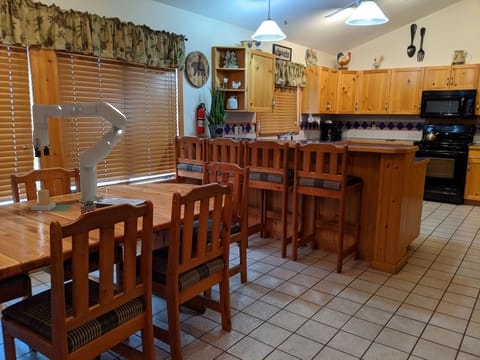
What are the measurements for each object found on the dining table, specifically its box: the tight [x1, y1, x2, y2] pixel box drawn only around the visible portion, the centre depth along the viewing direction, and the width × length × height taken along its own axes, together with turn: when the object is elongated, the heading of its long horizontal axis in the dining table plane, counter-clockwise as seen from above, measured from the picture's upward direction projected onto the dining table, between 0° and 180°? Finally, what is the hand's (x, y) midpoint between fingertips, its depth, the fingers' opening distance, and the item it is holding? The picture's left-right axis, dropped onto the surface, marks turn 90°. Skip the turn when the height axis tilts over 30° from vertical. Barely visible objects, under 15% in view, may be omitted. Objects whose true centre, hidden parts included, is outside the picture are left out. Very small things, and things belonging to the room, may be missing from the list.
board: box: [30, 201, 75, 212], centre depth 209 cm, size 18×14×4 cm
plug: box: [37, 189, 51, 205], centre depth 206 cm, size 5×4×10 cm
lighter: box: [79, 200, 97, 215], centre depth 190 cm, size 8×3×10 cm, turn 141°
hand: (42, 156), depth 215 cm, fingers open, 9 cm apart
